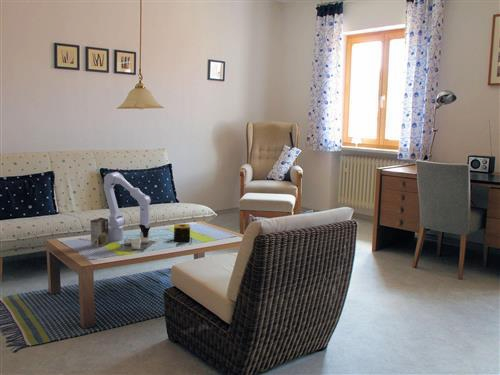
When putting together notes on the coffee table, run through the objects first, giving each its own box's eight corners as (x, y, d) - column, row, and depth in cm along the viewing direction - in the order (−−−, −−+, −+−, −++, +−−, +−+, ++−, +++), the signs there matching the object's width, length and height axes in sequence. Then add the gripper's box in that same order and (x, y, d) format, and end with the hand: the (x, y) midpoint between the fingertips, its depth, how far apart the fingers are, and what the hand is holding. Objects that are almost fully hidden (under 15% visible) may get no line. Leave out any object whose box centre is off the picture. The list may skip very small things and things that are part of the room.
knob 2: (139, 242, 313) (139, 233, 312) (141, 240, 318) (141, 231, 317) (148, 243, 313) (148, 233, 312) (150, 241, 317) (150, 231, 316)
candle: (174, 242, 322) (174, 227, 320) (173, 238, 332) (173, 223, 330) (190, 242, 324) (190, 227, 322) (189, 238, 334) (189, 223, 332)
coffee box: (101, 242, 317) (100, 217, 315) (109, 244, 314) (108, 218, 312) (90, 245, 309) (90, 220, 307) (98, 247, 306) (98, 221, 304)
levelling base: (116, 251, 299) (116, 244, 298) (132, 241, 322) (132, 234, 321) (142, 254, 296) (142, 246, 295) (156, 243, 319) (156, 236, 319)
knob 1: (129, 248, 300) (129, 239, 299) (133, 246, 304) (133, 236, 303) (138, 249, 299) (138, 239, 298) (142, 247, 304) (142, 237, 303)
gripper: (153, 217, 308) (153, 239, 310) (148, 212, 321) (148, 233, 323) (142, 218, 305) (142, 239, 307) (137, 213, 318) (137, 234, 320)
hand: (144, 236), depth 315 cm, fingers closed on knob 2, 3 cm apart
